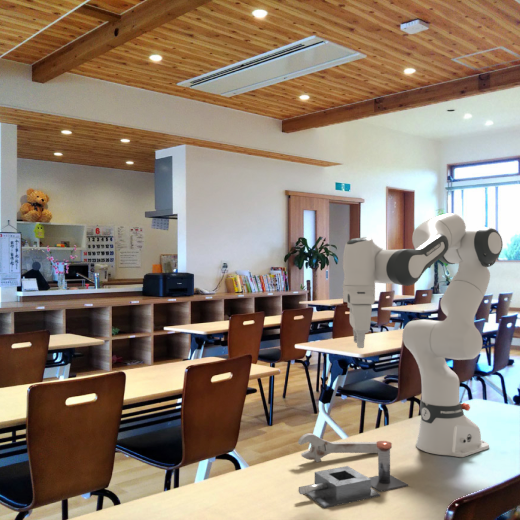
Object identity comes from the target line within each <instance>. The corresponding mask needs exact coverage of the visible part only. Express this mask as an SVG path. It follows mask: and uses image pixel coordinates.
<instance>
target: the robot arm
mask: <svg viewBox="0 0 520 520" xmlns="http://www.w3.org/2000/svg"><path fill="white" fill-rule="evenodd" d="M466 227H467V225H466V223H465V221H464V219H463V218H462V217H461V216H460V215H458V214H456V213H451V212H450V213H449V212H448V213H445V214H444V213H443V214H440V215H437V216H433V217H432V218H429V219H427V220H426V221H424V222H422V223H421V224H419V225H418V226H417V227H416V228H415V229H414V230H413V231H412V232H413V233H412V238H411V239H412V245H413V248H403V249H384V248H382V247H380V246H378V245H377V244H376V243H375V242H374V239H373V238H372V237H366V236H363V237H356V238H351V239H349V240H347V241H346V243H345V245H344V249H343V258H342V259H343V260H342V267H343V268H342V270H343V274H344V277H343V278H344V280H343V282H342V289H343V290H342V302H343V303H347V308H349V318H348V319H349V324H350V326H351V327H352V335H353V342H354V343H355V344H356V347H357V348H358V349H363V348H365V340H366V334H368V333H370V329H371V323H372V322H371V320H372V309H373V307H372V305H374V304H375V303H376V284H378V283H379V284H391V285H398V286H399V285H400V286H406V287H410V286H413V285H415V284H416V283H417V282H418V281H419V280H420V278H421V276H423V274H424V273H425V272H426V270H427V269H429V268H430V267H431V266H432V265H433V264H435V263H436V262H438V261H440V262H442V263H443V264H447V265H455V264H457V265H458V269H457V272H456V273H455V275H454V276H453V278H452V279H451V281H450V283H449V284H448V285H447V288H446V289H445V292H444V294H443V295H442V297H441V298H440V308H441V311H442V313H443V314H444V315H445V316H446V318H445V319H444V320H433V319H424V318H423V319H416V320H415V319H414V320H411V321H408V322H407V323H406V325H405V326H404V328H403V331H402V342H403V345H404V346H405V347H406V349H407V350H409V352H410V353H411V354H412V356H413V358H414V359H415V361H416V364H417V366H418V370H419V374H420V379H421V400H420V404H419V407H420V408H419V411H420V420H419V429H418V430H419V431H418V436H417V440H416V442H415V446H416V448H417V449H419V450H421V451H422V452H426V453H428V454H429V453H430V454H433V455H439V456H452V457H457V458H465V457H468V456H470V455H473V454H477V453H479V452H482V451H484V450H487V449H490V444H489V443H488V442H487V441H485V440H483V439H482V436H481V434H482V433H481V430H480V427H479V426H478V425H477V424H476V423H474V422H473V421H472V420H471V419H470V418H469V417H467V416H466V415H465V414H464V410H465V411H467V412H468V411H470V409H471V405H470V404H468V403H465V402H463V403H461V402H460V378H459V376H458V374H456V372H455V371H454V370H452V369H451V368H450V366H449V365H448V363H447V361H446V359H451V360H456V361H457V360H458V361H461V360H462V361H465V360H474V359H475V358H477V356H479V355H480V353H481V351H482V348H483V337H482V334H481V332H480V331H479V329H478V328H477V327H476V325H475V317H476V314H477V312H478V309H479V307H480V305H481V303H482V301H483V299H484V297H485V294H486V292H487V289H488V286H489V283H490V278H491V272H490V270H489V268H490V267H492V266H493V265H494V264H495V263H496V260H497V259H498V258H499V256H500V255H501V253H502V250H503V245H504V244H503V238H502V236H501V234H500V233H499V231H498V230H497V229H495V228H492V227H480V228H479V227H477V228H466Z"/></svg>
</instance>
